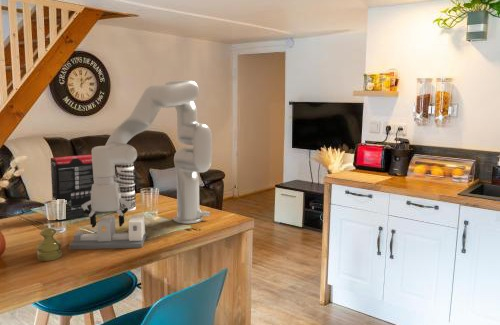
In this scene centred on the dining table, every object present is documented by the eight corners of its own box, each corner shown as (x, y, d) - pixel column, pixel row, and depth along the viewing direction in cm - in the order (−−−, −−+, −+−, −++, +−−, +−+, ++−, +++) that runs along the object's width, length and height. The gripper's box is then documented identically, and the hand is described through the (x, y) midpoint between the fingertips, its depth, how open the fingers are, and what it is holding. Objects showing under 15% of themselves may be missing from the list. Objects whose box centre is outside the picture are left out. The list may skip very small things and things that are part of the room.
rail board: (146, 235, 164) (146, 213, 163) (141, 247, 151) (140, 223, 150) (80, 237, 162) (78, 215, 160) (69, 249, 149) (67, 225, 147)
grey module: (115, 234, 160) (114, 216, 159) (110, 241, 152) (109, 223, 151) (103, 234, 160) (102, 216, 159) (97, 242, 151) (96, 223, 150)
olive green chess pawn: (59, 260, 139) (57, 231, 137) (34, 262, 137) (32, 232, 136) (64, 252, 146) (62, 224, 144) (40, 254, 144) (38, 225, 143)
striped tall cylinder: (140, 207, 205) (139, 156, 201) (128, 212, 196) (126, 158, 192) (125, 205, 208) (123, 155, 204) (112, 210, 199) (110, 157, 195)
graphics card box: (91, 211, 197) (87, 153, 192) (97, 214, 192) (94, 155, 187) (52, 219, 185) (48, 157, 180) (58, 222, 180) (54, 159, 176)
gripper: (131, 177, 157) (133, 221, 160) (82, 178, 156) (86, 223, 159) (127, 182, 150) (129, 228, 153) (76, 183, 148) (80, 230, 151)
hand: (107, 225), depth 156 cm, fingers open, 9 cm apart
